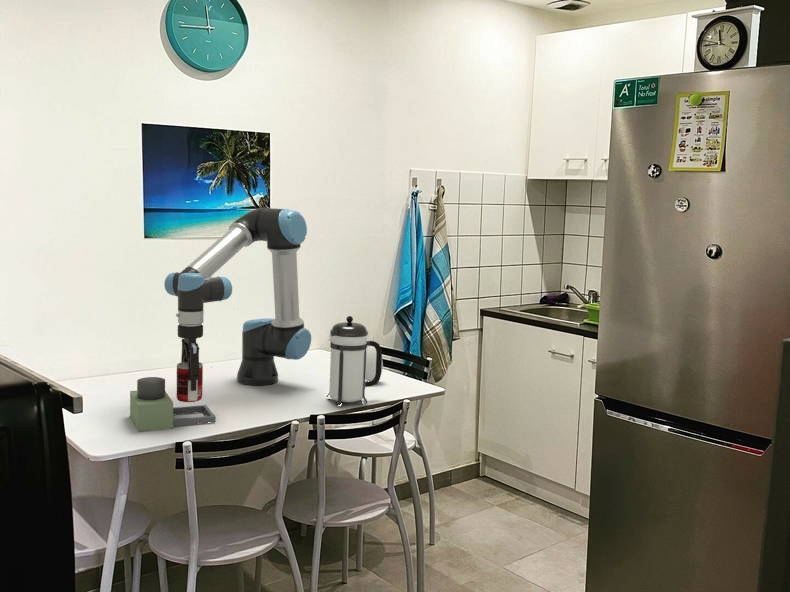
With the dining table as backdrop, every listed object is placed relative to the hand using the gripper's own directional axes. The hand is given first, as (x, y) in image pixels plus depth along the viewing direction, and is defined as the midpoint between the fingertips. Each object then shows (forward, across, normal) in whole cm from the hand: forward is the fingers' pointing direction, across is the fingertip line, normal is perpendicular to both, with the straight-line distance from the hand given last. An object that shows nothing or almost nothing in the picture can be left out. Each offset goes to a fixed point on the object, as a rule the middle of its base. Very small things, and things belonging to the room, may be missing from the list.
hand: (189, 396), depth 238 cm
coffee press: (+7, -3, +55) cm, 56 cm away
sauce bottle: (+7, -24, +73) cm, 77 cm away
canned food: (+1, 0, 0) cm, 1 cm away
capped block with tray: (+7, 0, -5) cm, 9 cm away
